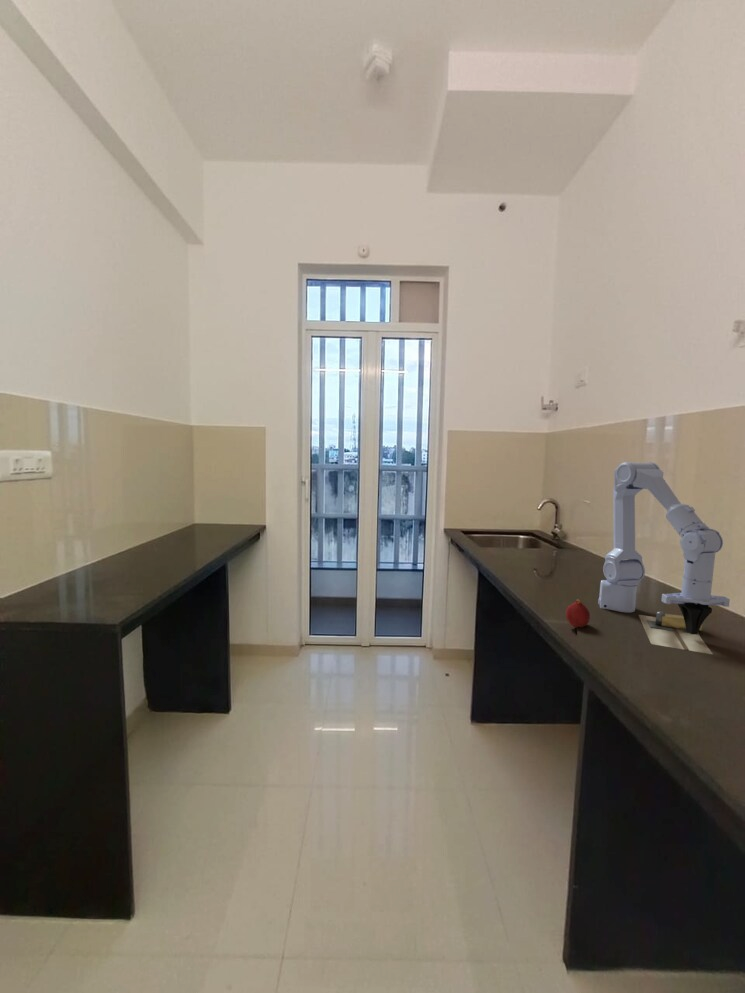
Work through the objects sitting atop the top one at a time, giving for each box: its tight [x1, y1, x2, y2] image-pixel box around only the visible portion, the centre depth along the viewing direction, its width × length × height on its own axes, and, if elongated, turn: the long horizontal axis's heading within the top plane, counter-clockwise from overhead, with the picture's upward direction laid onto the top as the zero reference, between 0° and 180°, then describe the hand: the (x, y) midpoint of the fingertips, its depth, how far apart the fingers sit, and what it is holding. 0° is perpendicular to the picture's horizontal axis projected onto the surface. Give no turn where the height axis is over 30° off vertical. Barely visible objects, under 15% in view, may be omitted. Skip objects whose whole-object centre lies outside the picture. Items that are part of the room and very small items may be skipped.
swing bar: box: [655, 610, 704, 632], centre depth 113 cm, size 10×2×3 cm, turn 74°
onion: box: [565, 599, 591, 629], centre depth 114 cm, size 6×6×8 cm
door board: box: [638, 614, 714, 656], centre depth 111 cm, size 12×21×2 cm, turn 156°
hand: (691, 632), depth 107 cm, fingers closed
